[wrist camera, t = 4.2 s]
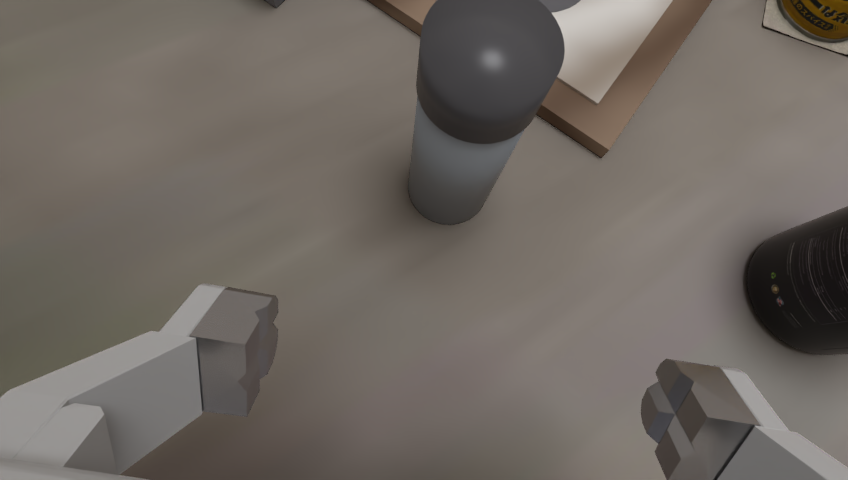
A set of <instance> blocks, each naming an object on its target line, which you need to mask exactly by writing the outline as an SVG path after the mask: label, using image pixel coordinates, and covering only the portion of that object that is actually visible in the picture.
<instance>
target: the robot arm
mask: <svg viewBox="0 0 848 480" xmlns="http://www.w3.org/2000/svg"><path fill="white" fill-rule="evenodd" d="M277 314H278V299H277V297H276V296H275V295H269V294H264V293H258V292H253V291H247V290H242V289H236V288H231V287H228V288H227V287H224V286H218V285H212V284H206V283H203V284H201V285H198V286H197V287H196V289H195V290H194V291H193V292H192V293H191V294H190V296H189V297H188V298H187V299H186V300H185V301H184V303H183V304H182V305H181V306H180V307H179V309H178V310H177V311H176V312H175V313H174V314H173V316H172V317H171V318H170V319H169V320H168V322H167V323H166V324H165V325H164V326H163V327H162V329H161V330H160V331H159V332H156V331H149V332H147V333H145V334H142V335H140V336H137V337H135V338H133V339H130V340H128V341H125V342H123V343H121V344H118V345H116V346H113V347H111V348H109V349H106V350H104V351H101V352H99V353H97V354H94V355H92V356H89V357H87V358H85V359H82V360H80V361H78V362H75V363H73V364H70V365H68V366H66V367H63V368H61V369H58V370H56V371H54V372H51V373H49V374H46V375H44V376H42V377H39V378H37V379H34V380H32V381H30V382H27V383H25V384H22V385H20V386H18V387H15V388H13V389H11V390H8V391H7V392H6V393H5V394H4V395H3V396H2V397H1V398H0V480H150V479H143V478H136V477H129V476H123V475H120V474H121V473H122V472H124V471H125V470H127V469H128V468H129V467H131V466H132V465H133V464H135V463H136V462H137V461H139V460H140V459H141V458H143V457H144V456H146V455H147V454H148V453H150V452H151V451H152V450H154V449H155V448H156V447H158V446H159V445H161V444H162V443H163V442H165V441H166V440H167V439H169V438H170V437H171V436H173V435H174V434H176V433H177V432H178V431H180V430H181V429H182V428H184V427H185V426H186V425H188V424H189V423H191V422H192V421H193V420H195V419H196V418H197V417H199V416H200V415H201V414H202V411H204V412H212V413H220V414H228V415H236V416H244V417H247V416H248V414H249V412H250V410H251V408H252V406H253V404H254V401H255V399H256V397H257V395H258V393H259V391H260V378H262V377H264V376H265V375H267V374H268V372H269V370H270V368H271V365H272V363H273V359H274V356H275V352H276V348H277V341H278V329H277V328H276V326H275V325H274V324H273V322H274V320H275V318H276V316H277ZM656 376H657V378H658V382H657V383H655V384H653V385H652V386H650V387H648V388H647V390H646V392H645V394H644V397H643V399H642V404H641V417H642V423H643V425H644V428H645V430H646V433H647V434H648V435H649V436H650V437H651V438H652V439H653V440H654V441H656V442H657V443H658V445H657V448H656V450H655V454H656V456H657V458H658V461H659V463H660V465H661V468H662V470H663V472H664V474H665V477H666V479H667V480H848V467H846V466H845V465H843V464H842V463H840V462H839V461H838V460H836V459H835V458H833V457H832V456H830V455H829V454H827V453H826V452H825V451H823V450H822V449H820V448H819V447H817V446H816V445H814V444H813V443H812V442H810V441H809V440H807V439H806V438H804V437H803V436H802V435H800V434H799V433H797V432H792V431H789V430H788V429H787V427H786V426H785V425H784V423H783V422H782V421H781V419H780V418H779V417H778V415H777V414H776V413H775V411H774V410H773V409H772V408H771V406H770V405H769V404H768V402H767V401H766V400H765V398H764V397H763V396H762V394H761V393H760V392H759V390H758V389H757V388H756V386H755V385H754V384H753V382H752V381H751V380H750V378H749V377H748V376H747V374H746V373H744V372H743V371H741V370H740V369H738V368H730V367H723V366H715V365H714V366H710V365H703V364H697V363H691V362H684V361H678V360H671V359H665V360H664V361H663V362H662V363H660V365H659V367H658V369H657V371H656Z"/></svg>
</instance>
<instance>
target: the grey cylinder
mask: <svg viewBox="0 0 848 480" xmlns="http://www.w3.org/2000/svg"><path fill="white" fill-rule="evenodd" d="M564 53H565V47H564V39H563V35H562V32H561V29H560V27H559V25H558V23H557V21H556V19H555V18H554V16H553V15H552V13H551V12H550V11H549V10H548V9H547V7H546V6H545V5H543V4H542V3H541V2H540V1H539V0H437V1H436V2H435V3H434V4H433V5H432V7H431V8H430V9H429V11H428V13H427V14H426V17H425V19H424V22H423V25H422V30H421V40H420V50H419V60H418V70H417V82H416V88H417V95H418V97H417V106H416V116H415V125H414V134H413V144H412V153H411V162H410V172H409V181H408V191H409V196H410V198H411V201H412V203H413V205H414V206H415V208H416V209H417V210H418V211H419V212H420V213H421V214H422V215H423V216H424V217H426V218H428V219H429V220H431V221H433V222H436V223H440V224H448V225H451V224H459V223H462V222H465V221H467V220H469V219H471V218H472V217H474V216H475V215H476V214H477V213H478V212H479V211H480V209H481V208H482V206H483V204H484V203H485V201H486V199H487V197H488V195H489V194H490V192H491V190H492V188H493V186H494V184H495V183H496V181H497V179H498V177H499V175H500V173H501V172H502V170H503V168H504V166H505V164H506V162H507V161H508V159H509V157H510V155H511V153H512V151H513V150H514V148H515V146H516V144H517V142H518V141H519V139H520V137H521V135H522V133H523V131H524V130H525V128H526V127H527V126H528V125H529V124H530V123H531V121H532V120H533V118H534V117H535V115H536V113H537V112H538V110H539V108H540V106H541V105H542V103H543V101H544V99H545V97H546V96H547V94H548V92H549V90H550V88H551V87H552V85H553V83H554V81H555V79H556V78H557V76H558V74H559V72H560V70H561V67H562V64H563V60H564Z"/></svg>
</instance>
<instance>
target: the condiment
mask: <svg viewBox="0 0 848 480" xmlns="http://www.w3.org/2000/svg"><path fill="white" fill-rule="evenodd" d="M765 8H766V10H765V13H764V20H763V24H764V25H763V26H766V27H768V28H772V29H774V30H777V31H780V32H781V33H784V34H788V35H790V36H792V37H795V38H797V39H800V40H803V41H806V42H808V43H811V44H814V45H818V46H821V47H823V48H827V49H830V50H833V51H836V52H839V53H843V54H848V0H767V2H766V7H765Z"/></svg>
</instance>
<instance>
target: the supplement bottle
mask: <svg viewBox="0 0 848 480" xmlns="http://www.w3.org/2000/svg"><path fill="white" fill-rule="evenodd" d="M747 284H748V292H749V296H750V300H751V302H752V305H753V307H754V309H755V311H756V313H757V315H758V316H759V318H760V319H761V321H762V322H763V323H764V324H765V326H766V327H767V328H768V329H769V330H770V331H771V332H772V333H773V334H774V335H775V336H777V337H778V338H779V339H781V340H782V341H784V342H785V343H787V344H788V345H790V346H792V347H794V348H797V349H799V350H802V351H805V352H808V353H813V354H820V355H838V354H848V206H847V207H845V208H842V209H839V210H837V211H834V212H832V213H829V214H827V215H824V216H822V217H819V218H817V219H814V220H812V221H809V222H806V223H804V224H801V225H799V226H796V227H794V228H791V229H789V230H787V231H784V232H782V233H780V234H777V235H775V236H773V237H771V238H770V239H768V240H767V241H765V242H764V243H763V244H762V245H761V246H760V247H759V248H758V249H757V251H756V252H755V254H754V255H753V257H752V259H751V262H750V265H749V269H748V275H747Z"/></svg>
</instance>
